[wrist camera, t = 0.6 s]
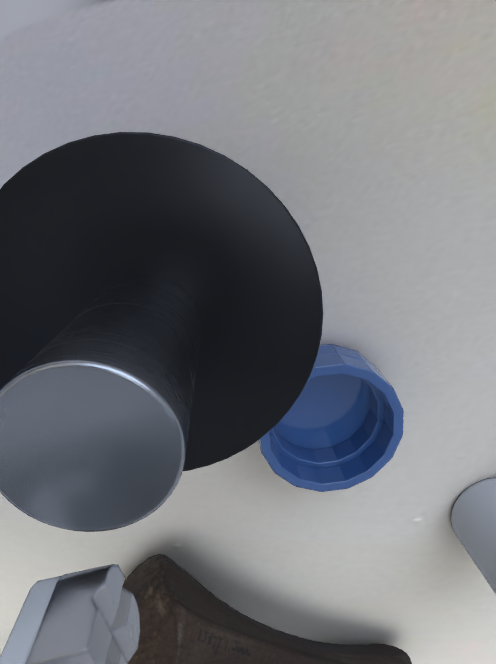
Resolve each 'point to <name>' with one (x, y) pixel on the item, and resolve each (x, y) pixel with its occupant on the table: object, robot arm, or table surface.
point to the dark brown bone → (222, 628)
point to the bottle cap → (336, 425)
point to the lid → (142, 323)
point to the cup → (478, 526)
